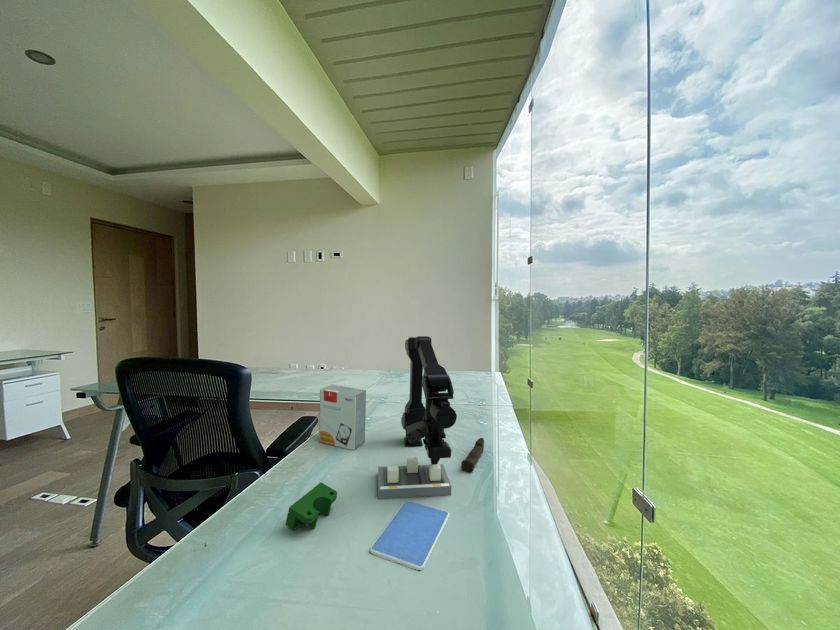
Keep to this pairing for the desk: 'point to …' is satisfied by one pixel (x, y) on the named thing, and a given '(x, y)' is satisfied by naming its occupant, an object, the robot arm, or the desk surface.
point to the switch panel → (412, 483)
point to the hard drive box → (342, 416)
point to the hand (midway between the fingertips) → (433, 466)
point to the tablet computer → (411, 535)
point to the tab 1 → (392, 474)
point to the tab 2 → (412, 465)
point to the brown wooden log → (473, 456)
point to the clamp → (311, 506)
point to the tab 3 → (435, 472)
